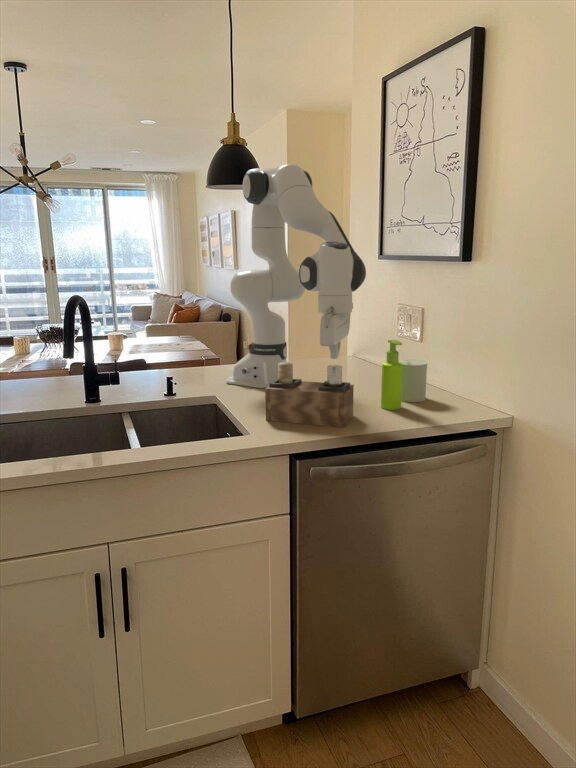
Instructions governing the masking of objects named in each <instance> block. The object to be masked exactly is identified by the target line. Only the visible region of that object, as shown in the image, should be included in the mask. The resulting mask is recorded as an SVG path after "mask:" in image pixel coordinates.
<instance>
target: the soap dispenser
mask: <svg viewBox="0 0 576 768" xmlns="http://www.w3.org/2000/svg"><path fill="white" fill-rule="evenodd" d="M387 342H388V343H389V350H387V351H386V361H384V362H382V363H381V385H380V386H381V388H380V389H381V392H380V393H381V396H380V408H381V409H384V410H389V411H395V410H400V409H402V401H401V395H402V368H403V364H402V363H399V362H398V361H399V355H400V354H399V351H398V350H397V346H402V345H403V343H402V342H401V341H400V340H396V339H388V340H387Z"/></svg>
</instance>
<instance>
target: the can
mask: <svg viewBox="0 0 576 768" xmlns="http://www.w3.org/2000/svg"><path fill="white" fill-rule="evenodd" d="M398 362H399V363H402V364H403V368H402V395H401V402H405V403H420V402H421V403H422V402H424V401H426V399H427V397H426V395H427V394H426V393H427V391H426V390H427V373H428V371H427V369H428V362H427V361H426V360H422V359H421V360H420V359H413V358H412V359H400V360H398Z"/></svg>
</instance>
